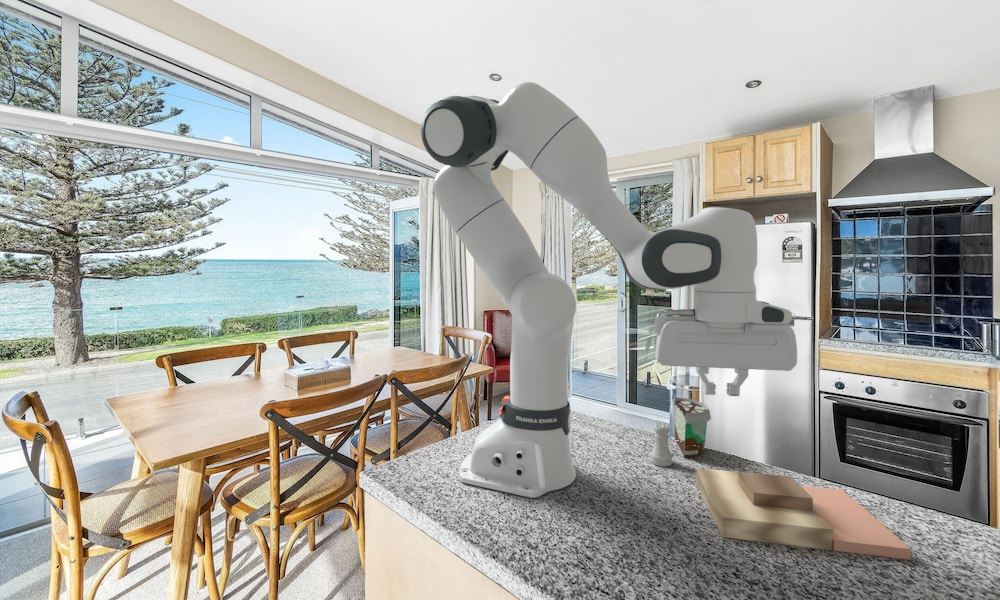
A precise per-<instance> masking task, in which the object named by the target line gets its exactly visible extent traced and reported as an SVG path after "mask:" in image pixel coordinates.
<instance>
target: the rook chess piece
mask: <svg viewBox="0 0 1000 600" xmlns="http://www.w3.org/2000/svg"><path fill="white" fill-rule="evenodd" d="M652 428H653V431H655V434H654V438H655V439H654V446H653V448H652V450H651V451H650V457H649V461H650V462H651V463H652V464H653V465H655V466H658V467H663V468H665V467H670V466H671V465H673V463H674V462H673V460H672V459H673V454H672V453H671V450H670V449H669V438H670V436H669V435H668V434H669V433H670V432H671V429H670V428H669V424H668V423H666V422H662V423H661V422H660V421H659V422H658V421H657V422H655V425H654V427H652Z"/></svg>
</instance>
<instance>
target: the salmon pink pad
mask: <svg viewBox="0 0 1000 600" xmlns="http://www.w3.org/2000/svg"><path fill="white" fill-rule="evenodd" d="M800 486H801V487H802V488H803V489H804V490H805V491H806V492H807V493H808V494H809V495H810V496H811V497H812V498H813V509H814V510H815V511H816V512H817V513H818V514H819V515H820V516H821V517H822V518H823V520H824V521H825V522H826V523H827V524H828V525H829V526H830V527H831V528H832V529H833V540H832V551H835V552H842V553H852V554H860V555H868V556H877V557H886V558H892V559H901V560H909V561H910V560H911V556H912V555H911V553H912V549H911V547H909V546H908V545H907V544H906V543H905V542H904V541H902V540H901V539H900V538H899V537H898V536H897V535H895V534H894V533H893V532H892V531H891V530H890V529H888V528H887V527H886V526H885V525H884V524H883V523H882V522H880V521H879V520H878V519H877V518H876V517H875V516H873V515H872V514H871V513H870V512H869V511H867V510H866V509H865V508H864V507H863V506H862V505H860V504H859V502H857V501H856V500H855V499H854V498H853V497H852V496H850V494H849V493H847V492H846V491H845V490H843V489H839V488H829V487H819V486H818V487H816V486H809V485H800Z"/></svg>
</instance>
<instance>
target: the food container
mask: <svg viewBox="0 0 1000 600" xmlns="http://www.w3.org/2000/svg"><path fill="white" fill-rule="evenodd" d="M673 406H674V442H675V444H676V446H677V448H678V450H679V452H680V453H681V455H682V457H683V459H696V458H697V459H698V458H700V457H702V456H703V455H704V452H705V447H706V446H705V445H706V436H707V427H708V422H709V421H711V419H712V416H711V411H710V409H709V407H708V405H707V404H705V403H703V402H701V401H698V400H695V399H690V398H686V397H685V398H684V397H674V400H673ZM675 440H679V441H675ZM680 441H682V442H680ZM693 445H694V446H693ZM695 445H696V446H695ZM698 446H699V447H698ZM703 448H704V449H703Z"/></svg>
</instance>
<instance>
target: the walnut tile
mask: <svg viewBox="0 0 1000 600" xmlns="http://www.w3.org/2000/svg"><path fill="white" fill-rule="evenodd" d="M737 472H738V484H739V485H740V487H741V488H742V489H743V491H744V492H745V494H746V495H747V497H748V498H749V500H750V501H751V502H752V504H753V505H756V506H766V507H775V508H785V509H795V510H804V511H812V509H813V498H812V497H811V496H810V495H809V494H808V493H807V492H806V491H805V490H804V489H803V488H802V487H801V486H802V485H800V484H799V482H798V481H796V479H794V478H793V476H792V475H791V476H789V475H782V474H781V475H780V474H768V473H767V474H766V473H757V472H756V473H755V472H745V471H737Z"/></svg>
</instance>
